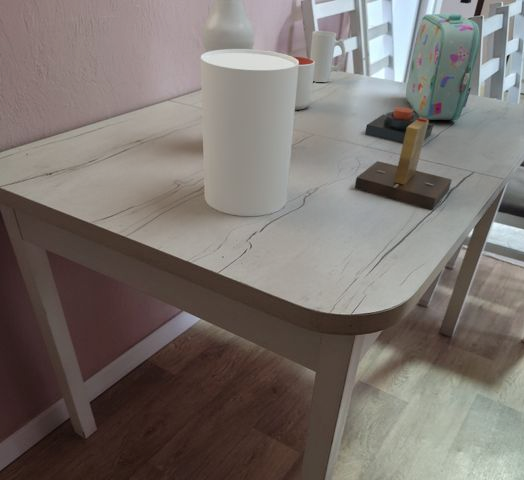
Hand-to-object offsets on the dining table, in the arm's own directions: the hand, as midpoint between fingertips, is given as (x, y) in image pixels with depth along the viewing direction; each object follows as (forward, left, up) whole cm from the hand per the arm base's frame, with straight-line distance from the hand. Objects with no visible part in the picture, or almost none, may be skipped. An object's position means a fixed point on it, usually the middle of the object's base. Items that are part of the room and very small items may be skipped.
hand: (465, 2), depth 97 cm
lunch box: (+5, -15, -25) cm, 29 cm away
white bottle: (+30, +40, -25) cm, 56 cm away
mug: (+40, -25, -25) cm, 53 cm away
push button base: (+5, +9, -24) cm, 26 cm away
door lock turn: (-6, +38, -22) cm, 44 cm away
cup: (+35, +5, -25) cm, 43 cm away
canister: (+14, +58, -25) cm, 65 cm away
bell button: (+5, +9, -21) cm, 23 cm away
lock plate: (-6, +38, -24) cm, 46 cm away
